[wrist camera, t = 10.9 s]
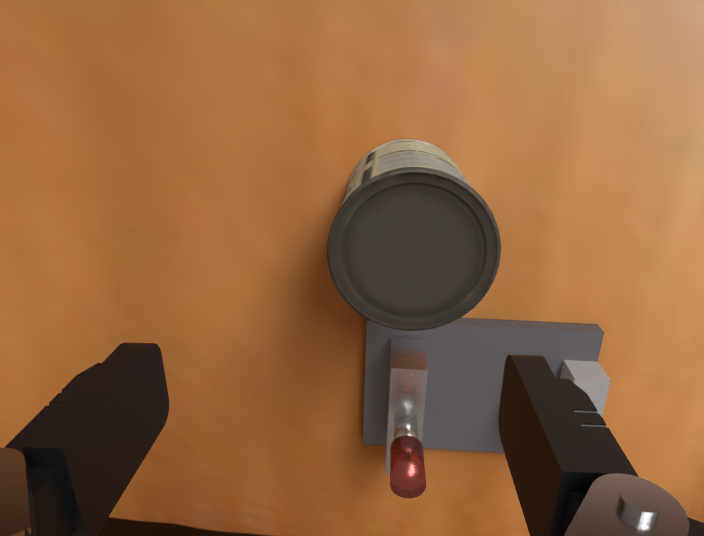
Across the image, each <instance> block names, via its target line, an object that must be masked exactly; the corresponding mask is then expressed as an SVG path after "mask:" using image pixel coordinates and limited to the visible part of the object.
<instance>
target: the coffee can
mask: <svg viewBox="0 0 704 536" xmlns="http://www.w3.org/2000/svg"><path fill="white" fill-rule="evenodd" d="M500 253H501V242H500V235H499V229H498V226H497V223H496V220H495V218H494V216H493V213H492V211H491V210H490V208H489V207H488V205H487V203H486V202H485V201H484V199H483V198H482V197H481V196H480V195H479V194H478V193H477V192H476V191H475V190H474V189H473V188H472V187H471V186H470V184H469V183H468V181H467V180H466V179H465V177H464V176H463V175H462V173H461V172H460V170H459V168H458V166H457V165H456V164H455V162H454V161H453V160H452V159H451V157H450V156H449V155H448V154H447V153H445V152H444V151H443V150H441V149H439V148H438V147H436V146H434V145H432V144H430V143H427V142H424V141H419V140H412V139H399V140H395V141H391V142H387V143H385V144H383V145H380V146H378V147H376V148H375V149H373V150H372V151H370V152H369V153H368V154H367V155H366V156H364V157H363V158H362V160H361V161H360V162H359V163H358V165H357V166H356V168H355V169H354V171H353V173H352V175H351V177H350V180H349V183H348V187H347V191H346V194H345V197H344V200H343V203H342V205H341V208H340V209H339V211H338V213H337V215H336V217H335V219H334V221H333V224H332V226H331V229H330V233H329V238H328V245H327V258H328V264H329V269H330V273H331V276H332V279H333V281H334V284H335V286H336V288H337V290H338V291H339V293H340V294H341V296H342V297H343V298H344V300H345V301H346V302H347V303H348V304H349V305H350V306H351V307H352V308H353V309H354V310H355V311H357V312H358V313H359V314H360V315H362V316H364V317H365V318H367V319H368V320H370V321H372V322H374V323H376V324H379V325H381V326H384V327H387V328H391V329H396V330H405V331H420V330H427V329H434V328H437V327H441V326H444V325H446V324H449V323H451V322H453V321H455V320H457V319H459V318H460V317H462V316H463V315H465V314H466V313H468V312H469V311H470V310H472V309H473V308H474V307H475V306H476V305H477V304H478V303H479V302H480V301H481V300H482V298H483V297H484V296H485V294H486V293H487V292H488V290H489V288H490V286H491V285H492V283H493V281H494V279H495V276H496V273H497V270H498V267H499V262H500Z"/></svg>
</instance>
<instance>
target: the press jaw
mask: <svg viewBox="0 0 704 536" xmlns="http://www.w3.org/2000/svg"><path fill="white" fill-rule="evenodd" d="M427 374H428V368H427V359H426V351H425V343H424V340H418V339H398V338H391V348H390V367H389V386H388V405H387V424H386V464H385V473H390V486H391V489H392V491H393V492H394V493H395V494H396V495H398V496H400V497H403V498H414V497H417V496H419V495H421V494H422V493H423V492H424V490H425V488H426V479H425V467H424V455H423V446H422V433H423V421H424V409H425V398H426V386H427Z"/></svg>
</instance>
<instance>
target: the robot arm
mask: <svg viewBox="0 0 704 536" xmlns="http://www.w3.org/2000/svg"><path fill="white" fill-rule="evenodd" d="M168 411H169V397H168V391H167V385H166V379H165V373H164V367H163V361H162V354H161V350H160V348H159V346H158V345H157V344H154V343H122V344H120V345H119V346H118V347H117V348H116V349H115V350H114V351H113V352H112V353H111V354H110V355H109V357H108V358H107V359H106V360H105V361H104V362H103V363H97V364H95V365H94V366H92V367H90V368H89V369H87V370H85V371H83V372H82V373H80V374H78V375H77V376H75V377H74V378H73V379H72V380H71V381H70V382H69V383H68V384H67V385H66V386H65V387H64V388H63V389H62V392H61V393H58V394H57V395H56V396H55V397H54V398H53V399H52V400H51V401H50V402H49V406H45V407H44V408H43V409H42V410H41V411H40V412H39V413H38V414H37V415H36V416H35V417H34V418H33V419H32V420H31V421H30V422H29V423H28V424H27V425H26V426H25V427H24V428H23V429H22V430H21V431H20V432H19V433H18V434H17V435H16V436H15V437H14V438H13V439H12V440H11V441H10V442H9V443H8V444H7V445H6V446H5V447H4V448H0V536H97V534H98V533H99V531H100V530H101V528H102V526H103V525H104V523H105V521H106V520H107V518H108V517H109V515H110V513H111V512H112V510H113V508H114V507H115V505H116V504H117V502H118V500H119V499H120V497H121V495H122V494H123V492H124V491H125V489H126V487H127V486H128V484H129V482H130V481H131V479H132V478H133V476H134V474H135V473H136V471H137V469H138V468H139V466H140V465H141V463H142V461H143V460H144V458H145V456H146V455H147V453H148V452H149V450H150V448H151V447H152V445H153V443H154V442H155V440H156V439H157V437H158V435H159V434H160V432H161V430H162V429H163V427H164V425H165V423H166V420H167V416H168ZM498 423H499V434H500V439H501V443H502V446H503V449H504V453H505V456H506V459H507V462H508V466H509V469H510V472H511V475H512V478H513V482H514V485H515V488H516V491H517V495H518V498H519V501H520V504H521V508H522V511H523V514H524V517H525V520H526V524H527V527H528V530H529V533H530V536H704V523H702V522H699V521H696V520H693V519H691V518H688V516H687V514H686V512H685V510H684V509H683V507H682V506H681V505H680V503H679V502H678V501H677V500H676V499H675V498H674V497H673V496H672V495H671V494H669V493H668V492H667V491H665V490H664V489H663V488H661V487H659V486H658V485H656V484H654V483H652V482H650V481H648V480H645V479H643V478H640V477H638V475H637V473H636V472H635V470H634V468H633V467H632V465H631V464H630V462H629V460H628V459H627V457H626V456H625V454H624V452H623V451H622V449H621V447H620V446H619V444H618V443H617V441H616V439H615V438H614V436H613V435H612V433H611V431H610V430H609V428H606V423H605V422H604V420H603V418H602V417H601V415H600V414H598V413H597V409H596V407H595V405H594V404H593V402H592V401H591V399H590V397H589V396H588V394H587V393H586V392H585V391H583V390H582V389H581V388H579V387H578V386H577V385H576V384H574V383H573V382H572V381H571V380H569V379H556V378H555V376H554V374H553V372H552V370H551V368H550V367H549V365H548V363H547V361H546V359H545V358H544V357H543V356H538V355H508V356H507V357H506V361H505V366H504V374H503V382H502V390H501V398H500V406H499V416H498Z"/></svg>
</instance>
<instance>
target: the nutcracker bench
mask: <svg viewBox="0 0 704 536" xmlns="http://www.w3.org/2000/svg"><path fill="white" fill-rule="evenodd" d="M603 335H604V332H603V330H602V329H601V328H600V327H599V326H598V324H579V323H558V322H537V321H516V320H495V319H475V318H459V319H457V320H455V321H453V322H451V323H449V324H446V325H444V326H441V327H437V328H434V329H427V330H420V331H405V330H396V329H391V328H387V327H384V326H381V325H379V324H376V323H374V322H372V321H370V320H368V319H367V328H366V359H365V390H364V422H363V444H366V445H382V446H386V424H387V405H388V386H389V367H390V348H391V338H398V339H418V340H424V343H425V351H426V359H427V368H428V374H427V386H426V398H425V409H424V421H423V433H422V446H423V448H429V449H444V450H460V451H476V452H491V453H504V449H503V446H502V443H501V439H500V434H499V423H498V416H499V406H500V398H501V390H502V382H503V374H504V366H505V361H506V357H507V356H508V355H538V356H543V357H544V358H545V359H546V361H547V363H548V365H549V367H550V368H551V370H552V372H553V374H554V376H555V378H556V379H569V380H571V381H572V382H573V383H574V384H576V385H577V386H578V387H579V388H581V389H582V390H583V391H585V392H586V393H587V394H588V396H589V397H590V399H591V401H592V402H593V404H594V405H595V407H596V409H597V413H598V414H600V415H601V417H602V415H603V411H604V406H605V402H606V398H607V394H608V390H609V386H610V382H611V380H610V379H609V377H608V376H607V374H606V373H605V372H604V370H603V369H602V367H601V366H600V365H599V363H598V362H597V361H598V357H599V352H600V348H601V343H602V339H603Z"/></svg>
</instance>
